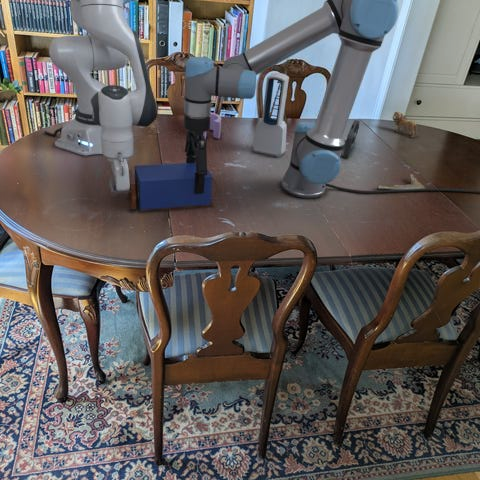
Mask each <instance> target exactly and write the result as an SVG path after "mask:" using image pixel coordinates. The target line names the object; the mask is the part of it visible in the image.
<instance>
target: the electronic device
mask: <svg viewBox="0 0 480 480" xmlns="http://www.w3.org/2000/svg"><path fill="white" fill-rule="evenodd" d="M275 81H277V82H278V81H280V82H281V84H280V87H281V89H279V95H278V96H279V97H278V98H279V99H278V103H277V105H278V106H277V109H278V110H277V112H276V116H277V117H276V119H275V118H272V117H271V118H270V117H269V116H270V112H271V108H272V99H273V93H274V92H273V91H274V82H275ZM288 81H289V82H290V76H288V75H287V74H286V75H285V73H283V72H282V73H281V72H275V73H271V74H269V75H268V76H267V77H266V83H265V91H264V98H263V99H264V100H263V106H262V107H263V108H262V115H261V119H260V120H259V121H258V122H257V123H256V126H255V129H254V134H253V139H252V142H251V150H252V151H253V152H254V153H256V154H261V155H266V156H272V157H275V158H280V157H281V156H283V154H284V153H285V152H286V150H287V149H286V148H287V130H288V124H287V122H286V123H285V122H284V121H283V116H284V109H285V110H286V108H285V106H286V101H287V95H288V87H289V82H288Z"/></svg>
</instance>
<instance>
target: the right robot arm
mask: <svg viewBox="0 0 480 480" xmlns="http://www.w3.org/2000/svg"><path fill="white" fill-rule="evenodd" d="M399 10H400V8H399V1H398V0H325V1H324V2H323V5H322V6H321V8H318V9H317V10H315V11H313V12H311V13H310V14H308V15H306V16H305V17H303V18H301V19H299V20H297V21H296V22H294V23H292V24H290V25H289V26H287V27H285V28H283V29H282V30H280V31H278V32H276V33H275V34H273V35H271V36H269V37H268V38H265V39H264V40H263V41H260V42H259V43H257V44H255V45H253V46H252V47H250V48H248V49H246V50H245V51H243V52H242V53H240V54H238V55H232V56H229V57H227V58H226V60H225V61H224V62H223V63H222V66H221V67H217V66H215V63H214V60H213V59H212V58H210V57H205V56H192V57H189V58H188V59H187V60H186V62H185V72H184V73H185V75H184V106H183V113H184V116H183V127H184V129H185V130H186V137H185V145H184V153H185V156H186V157H185V158H186V159H185V163H196V172H195V173H194V175H195V190H194V193H195V194H199V193H204V178H205V175H207V169H208V158H207V157H208V154H207V152H208V151H207V147H208V146H207V144H208V142H207V140H206V139H205V137H204V136H203V133H204V132H205V131H206V132H208V131H209V130H210V116H209V115H210V114H211V113H212V107H213V106H214V104H213V103H212V99H213V98H212V97H220V98H221V97H223V98H231V99H240V100H252V99H253V98H255V95H256V90H257V89H256V88H257V76H258V75H260V74H262V73H263V72H265V71H267V70H269V69H270V68H272V67H274V65H276V66H277V65H279V63H281V62H283V61H285V60H287V59H289V58H290V57H293V56H294V55H296V54H298V53H299V52H301V51H304V50H305V49H307V48H309V47H310V46H312V45H314V44H317V43H319V42H320V41H321V40H324V39H325V38H327V37H329V36H331V35H332V34H335V35H337V36H338V38H339V40H340V46H339V50H338V52H337V55H336V59H335V62H334V65H333V68H332V70H331V74H330V77H329V80H328V83H327V86H326V89H325V93H324V96H323V99H322V101H321V105H320V108H319V110H318V114H317V116H316V120H315V121H301V122H299V123H297V124H296V126H295V129H294V137H293V142H292V148H291V154H290V160H289V166H288V168H287V169H286V171H285V174H284V175H283V178H282V179H281V184H280V187H281V190H283V191H284V192H285V193H286V194H288V195H290V196H292V197H296V198H300V199H318V198H322V197H323V196H324V195H325V192H326V188H327V187H329V188H332V189H335V190H338V191H344V192H349V193H356V194H386V193H387V194H388V193H411V192H456V193H457V192H458V193H471V194H472V193H473V194H480V192H479V191H480V190H475V189H471V190H472V191H467V190H468V189H463V188H462V189H460V188H424V189H400V190H390V189H377V190H360V189H353V188H346V187H341V186H337V185H334V184H330V182H332V181H333V180H335V179H336V178H337V177H338V176H339V174H340V172H341V168H342V162H341V158H340V157H341V156H342V152H343V151H344V148H345V145H346V141H345V140H344V137H343V134H344V132H345V129H346V127H347V123H348V121H349V118H350V116H351V112H352V110H353V108H354V104H355V101H356V99H357V96H358V94H359V90H360V88H361V85H362V82H363V79H364V77H365V74H366V71H367V69H368V66H369V63H370V60H371V58H372V55H373V53H374V52H375V51H377V50H379V49H380V48H381V47H382V45H383V42H384V39H385V36H386V35H387V34H389V33H390V32H391V31H392V30H393V28H394V27H395V26H396V23H397V20H398V17H399Z"/></svg>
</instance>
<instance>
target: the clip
mask: <svg viewBox="0 0 480 480" xmlns="http://www.w3.org/2000/svg"><path fill="white" fill-rule="evenodd" d="M209 116H210V129H209V130H211V131H213V132H212V137H213V138H215V139H218V140H219V139H221V131H222V116H221V115H219V114H217V113H215V112H211V114H210V115H209ZM203 136H204V137H205V140H206V139H207V131H205V132H204V133H203Z"/></svg>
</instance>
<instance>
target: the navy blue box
mask: <svg viewBox="0 0 480 480" xmlns="http://www.w3.org/2000/svg"><path fill="white" fill-rule="evenodd" d="M195 172H196V163H186V162H182V163H181V162H180V163H161V164H159V163H158V164H143V165H142V164H141V165H134V181H135V190H136V203H137V205H138V208H139V211H140V213H147V212H160V211H173V210H184V209H196V208H197V209H198V208H209V207H211V206H212V189H213V175H212V173H211V172H210V171H209V169H208V168H207V175H205V178H204V193H199V194H195V193H194V190H195V175H194V173H195ZM137 177H138V180H139V188H140V201H139V198H138V195H137Z"/></svg>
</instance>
